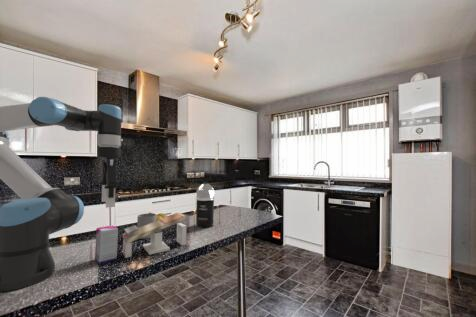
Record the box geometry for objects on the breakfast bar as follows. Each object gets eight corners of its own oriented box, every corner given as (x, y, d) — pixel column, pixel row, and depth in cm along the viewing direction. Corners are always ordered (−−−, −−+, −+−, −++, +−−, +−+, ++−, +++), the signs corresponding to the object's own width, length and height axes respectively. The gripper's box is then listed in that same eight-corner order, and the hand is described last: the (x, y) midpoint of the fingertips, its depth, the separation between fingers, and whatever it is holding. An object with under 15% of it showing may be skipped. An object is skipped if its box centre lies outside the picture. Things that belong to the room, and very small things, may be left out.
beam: (127, 245, 81) (125, 235, 81) (123, 239, 88) (121, 229, 88) (187, 220, 95) (185, 211, 95) (179, 216, 102) (177, 208, 102)
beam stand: (126, 259, 80) (127, 237, 81) (121, 251, 88) (122, 230, 89) (187, 245, 95) (188, 226, 95) (179, 239, 103) (179, 221, 103)
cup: (148, 239, 102) (149, 217, 103) (133, 238, 104) (133, 216, 104) (158, 233, 111) (159, 213, 111) (144, 232, 112) (144, 213, 113)
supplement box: (117, 259, 81) (118, 227, 81) (99, 264, 77) (100, 231, 77) (112, 254, 85) (113, 224, 85) (94, 259, 81) (95, 227, 81)
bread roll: (166, 222, 132) (167, 209, 132) (173, 226, 125) (174, 212, 125) (144, 226, 124) (145, 212, 124) (150, 230, 116) (151, 215, 116)
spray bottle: (212, 228, 121) (213, 182, 122) (194, 228, 121) (194, 182, 122) (214, 223, 132) (215, 181, 132) (197, 223, 132) (198, 181, 132)
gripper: (127, 145, 74) (125, 208, 74) (115, 149, 94) (114, 198, 94) (101, 144, 70) (99, 211, 69) (94, 148, 90) (93, 200, 89)
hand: (107, 204), depth 81 cm, fingers open, 13 cm apart
